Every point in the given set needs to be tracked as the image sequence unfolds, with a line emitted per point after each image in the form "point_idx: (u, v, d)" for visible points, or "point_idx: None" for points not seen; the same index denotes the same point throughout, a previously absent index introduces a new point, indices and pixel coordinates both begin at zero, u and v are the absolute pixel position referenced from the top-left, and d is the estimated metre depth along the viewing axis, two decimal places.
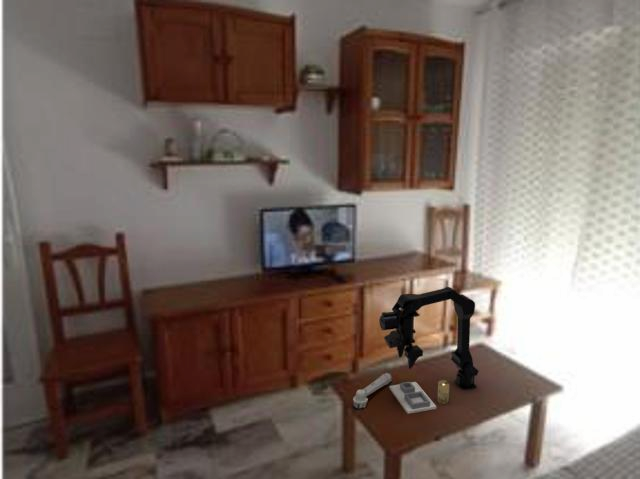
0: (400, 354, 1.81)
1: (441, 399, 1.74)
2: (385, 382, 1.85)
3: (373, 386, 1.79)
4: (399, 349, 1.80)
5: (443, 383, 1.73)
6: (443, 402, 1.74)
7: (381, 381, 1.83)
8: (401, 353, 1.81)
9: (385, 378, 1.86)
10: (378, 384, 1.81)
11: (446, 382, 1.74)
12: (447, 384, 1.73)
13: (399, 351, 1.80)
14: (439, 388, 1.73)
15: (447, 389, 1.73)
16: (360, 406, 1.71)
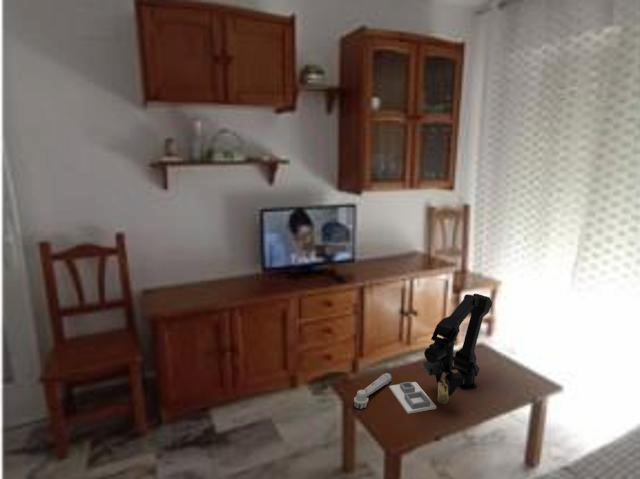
0: (438, 380, 1.78)
1: (441, 399, 1.74)
2: (385, 382, 1.85)
3: (373, 386, 1.79)
4: (437, 375, 1.78)
5: (443, 383, 1.73)
6: (443, 402, 1.74)
7: (381, 381, 1.83)
8: (439, 379, 1.78)
9: (385, 378, 1.86)
10: (378, 384, 1.81)
11: None
12: None
13: (437, 377, 1.78)
14: (439, 388, 1.73)
15: (447, 389, 1.73)
16: (361, 406, 1.71)
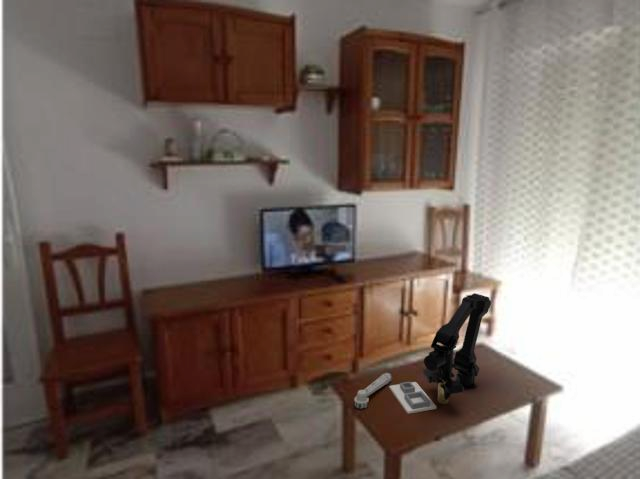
0: None
1: (441, 399, 1.74)
2: (385, 382, 1.85)
3: (374, 386, 1.79)
4: None
5: (443, 383, 1.73)
6: (443, 402, 1.74)
7: (381, 381, 1.83)
8: None
9: (385, 378, 1.86)
10: (378, 384, 1.81)
11: None
12: None
13: None
14: (439, 388, 1.73)
15: None
16: (361, 406, 1.71)
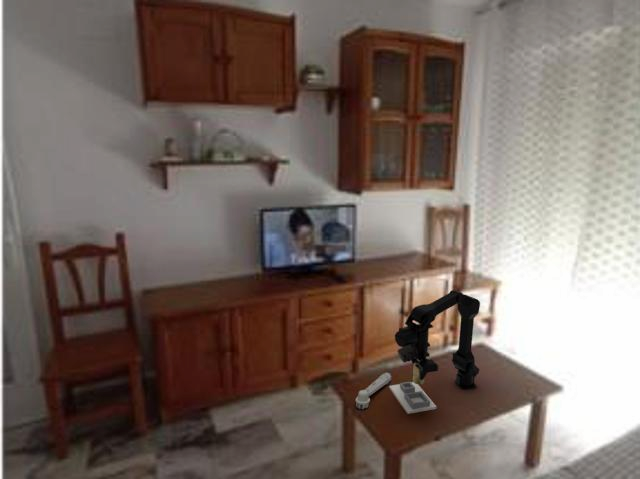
0: None
1: (416, 379, 1.69)
2: (385, 382, 1.85)
3: (374, 386, 1.79)
4: None
5: (418, 363, 1.69)
6: (418, 382, 1.69)
7: (382, 381, 1.83)
8: None
9: (385, 378, 1.86)
10: (379, 384, 1.81)
11: None
12: None
13: None
14: (414, 368, 1.69)
15: None
16: (363, 406, 1.71)
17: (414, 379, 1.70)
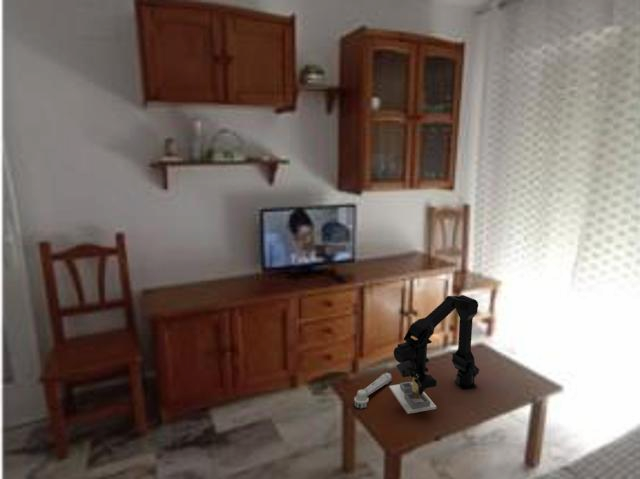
0: None
1: (415, 394, 1.71)
2: (385, 382, 1.85)
3: (374, 386, 1.79)
4: None
5: (417, 378, 1.70)
6: (417, 397, 1.71)
7: (381, 381, 1.84)
8: None
9: (385, 378, 1.86)
10: (379, 384, 1.81)
11: None
12: None
13: None
14: (413, 383, 1.71)
15: None
16: (361, 406, 1.71)
17: (413, 394, 1.71)
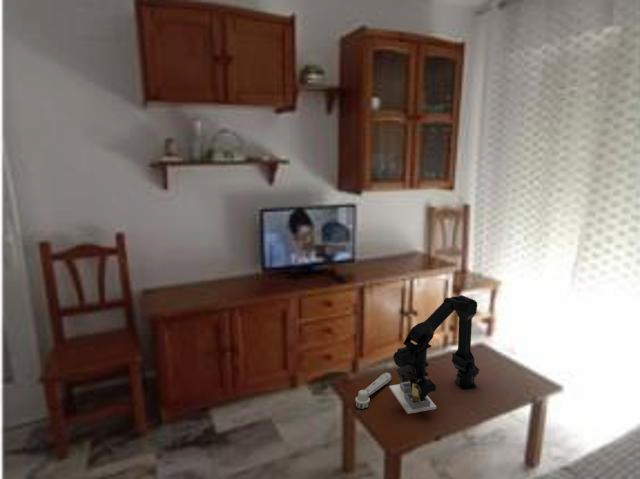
0: None
1: (415, 400, 1.71)
2: (385, 381, 1.85)
3: (374, 386, 1.79)
4: (412, 382, 1.76)
5: None
6: None
7: (382, 381, 1.84)
8: None
9: (385, 377, 1.86)
10: (379, 384, 1.81)
11: None
12: None
13: None
14: (413, 389, 1.71)
15: None
16: (363, 406, 1.71)
17: (413, 400, 1.72)
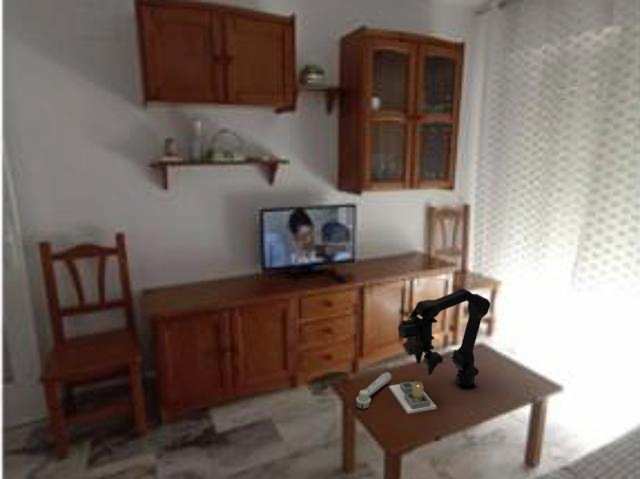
0: (418, 360, 1.81)
1: (415, 400, 1.71)
2: (385, 381, 1.86)
3: (375, 386, 1.79)
4: (417, 355, 1.81)
5: (417, 384, 1.71)
6: None
7: (382, 380, 1.84)
8: (419, 359, 1.81)
9: (385, 377, 1.86)
10: (379, 383, 1.81)
11: (420, 383, 1.72)
12: (421, 385, 1.70)
13: (417, 357, 1.81)
14: (413, 389, 1.71)
15: (421, 390, 1.70)
16: (364, 406, 1.71)
17: (413, 400, 1.72)
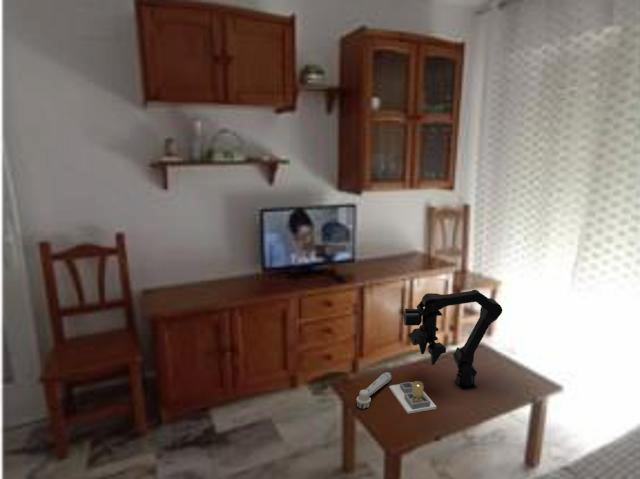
0: (422, 351, 1.88)
1: (415, 400, 1.71)
2: (386, 381, 1.86)
3: (375, 386, 1.79)
4: (421, 346, 1.88)
5: (417, 384, 1.71)
6: None
7: (382, 380, 1.84)
8: (423, 350, 1.88)
9: (385, 377, 1.87)
10: (379, 383, 1.82)
11: (420, 383, 1.72)
12: (421, 385, 1.71)
13: (421, 348, 1.88)
14: (413, 389, 1.71)
15: (421, 390, 1.70)
16: (364, 406, 1.71)
17: (413, 400, 1.72)
